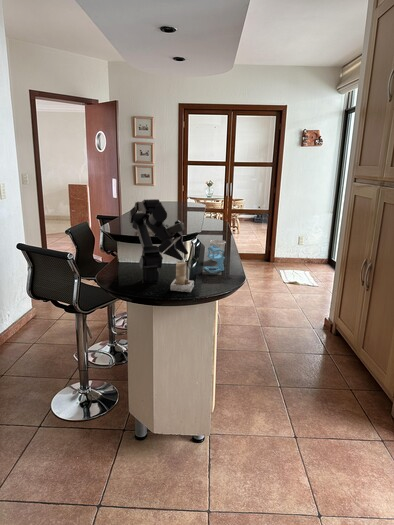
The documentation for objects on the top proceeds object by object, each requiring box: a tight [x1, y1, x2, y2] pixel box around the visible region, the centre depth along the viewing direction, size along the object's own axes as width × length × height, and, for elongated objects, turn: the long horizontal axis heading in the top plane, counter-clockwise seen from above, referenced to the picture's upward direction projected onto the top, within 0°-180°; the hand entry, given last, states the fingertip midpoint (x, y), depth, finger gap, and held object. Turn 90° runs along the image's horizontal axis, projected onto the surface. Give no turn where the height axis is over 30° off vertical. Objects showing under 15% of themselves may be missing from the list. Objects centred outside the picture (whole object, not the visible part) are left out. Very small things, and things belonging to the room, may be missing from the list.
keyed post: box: [175, 260, 189, 285], centre depth 150 cm, size 5×4×11 cm
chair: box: [204, 245, 226, 274], centre depth 175 cm, size 8×8×12 cm
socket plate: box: [170, 278, 195, 293], centre depth 152 cm, size 8×7×2 cm
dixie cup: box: [209, 239, 227, 262], centre depth 193 cm, size 8×8×10 cm
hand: (184, 256), depth 148 cm, fingers open, 9 cm apart
